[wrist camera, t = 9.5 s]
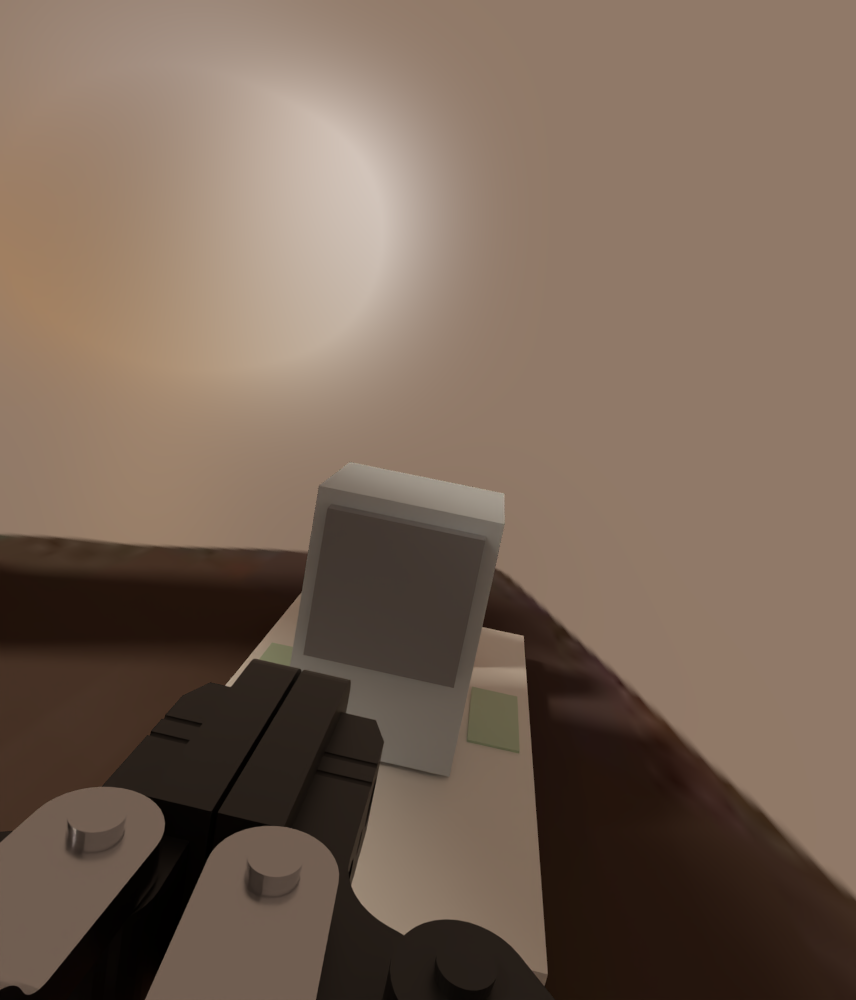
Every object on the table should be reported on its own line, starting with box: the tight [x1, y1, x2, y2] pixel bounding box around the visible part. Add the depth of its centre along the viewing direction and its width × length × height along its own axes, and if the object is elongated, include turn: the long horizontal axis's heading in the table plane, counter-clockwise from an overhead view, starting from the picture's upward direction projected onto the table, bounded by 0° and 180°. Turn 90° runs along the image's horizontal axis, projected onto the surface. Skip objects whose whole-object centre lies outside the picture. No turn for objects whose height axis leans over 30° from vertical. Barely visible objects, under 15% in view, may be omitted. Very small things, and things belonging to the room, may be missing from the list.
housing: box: [225, 592, 548, 987], centre depth 30 cm, size 22×12×2 cm, turn 174°
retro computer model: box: [290, 462, 505, 777], centre depth 27 cm, size 6×6×9 cm
